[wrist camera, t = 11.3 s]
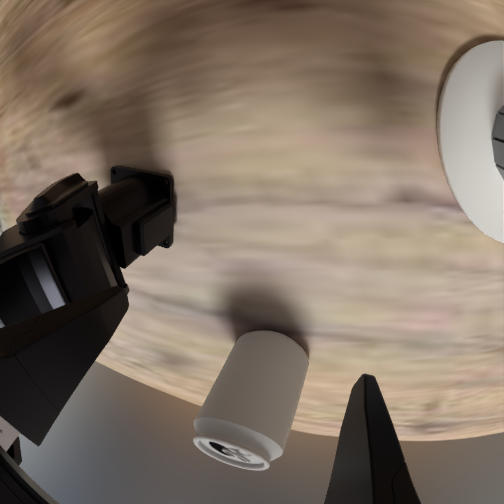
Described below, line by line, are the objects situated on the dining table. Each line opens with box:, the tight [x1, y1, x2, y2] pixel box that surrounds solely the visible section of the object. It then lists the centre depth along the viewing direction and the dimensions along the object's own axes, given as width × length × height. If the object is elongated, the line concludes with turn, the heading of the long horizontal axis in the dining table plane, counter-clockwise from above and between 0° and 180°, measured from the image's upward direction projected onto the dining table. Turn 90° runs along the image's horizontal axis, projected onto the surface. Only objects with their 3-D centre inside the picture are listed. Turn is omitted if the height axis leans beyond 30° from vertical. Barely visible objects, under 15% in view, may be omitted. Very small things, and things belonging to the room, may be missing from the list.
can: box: [193, 330, 309, 470], centre depth 22 cm, size 8×8×12 cm
